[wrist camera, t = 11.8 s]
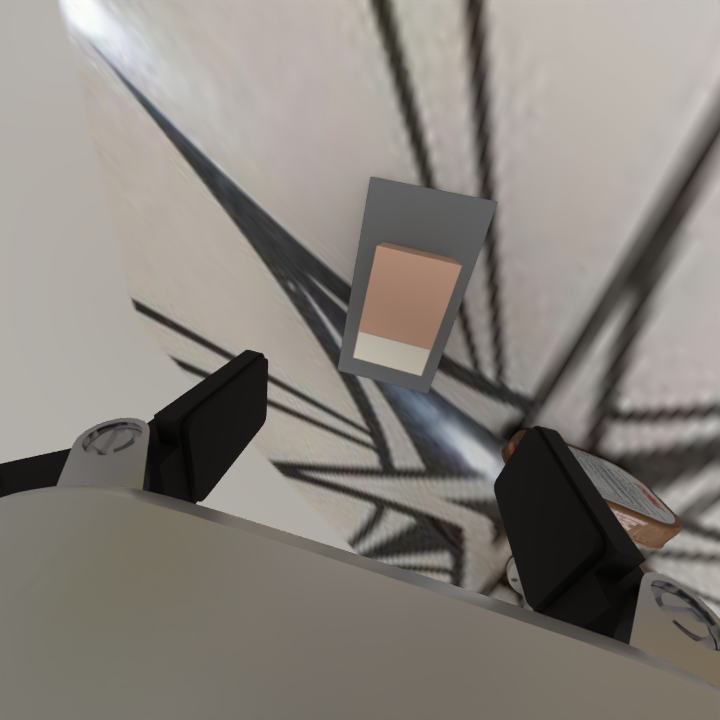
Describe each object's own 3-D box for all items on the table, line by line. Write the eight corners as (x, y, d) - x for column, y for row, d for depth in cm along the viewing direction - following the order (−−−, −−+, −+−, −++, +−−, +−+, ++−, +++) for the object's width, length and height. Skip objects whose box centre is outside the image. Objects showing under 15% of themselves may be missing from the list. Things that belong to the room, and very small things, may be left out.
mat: (427, 390, 30) (427, 393, 29) (338, 367, 30) (337, 370, 30) (495, 202, 21) (497, 201, 21) (371, 177, 22) (370, 176, 22)
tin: (491, 434, 31) (515, 501, 23) (507, 414, 29) (538, 478, 22) (618, 485, 30) (683, 568, 23) (640, 467, 29) (718, 550, 22)
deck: (453, 258, 23) (462, 266, 19) (421, 352, 27) (421, 377, 23) (384, 242, 24) (376, 245, 19) (363, 336, 28) (352, 358, 23)
